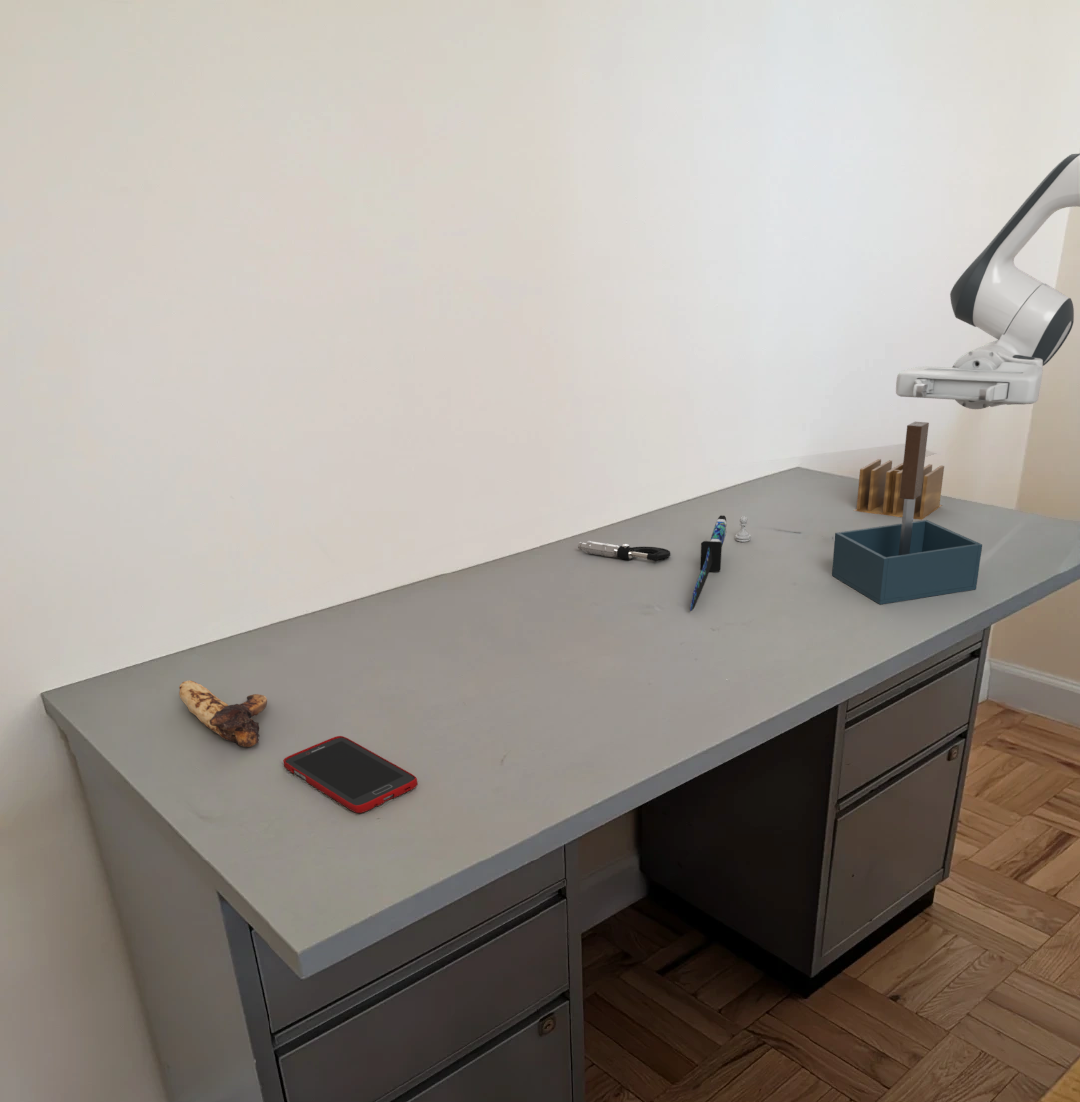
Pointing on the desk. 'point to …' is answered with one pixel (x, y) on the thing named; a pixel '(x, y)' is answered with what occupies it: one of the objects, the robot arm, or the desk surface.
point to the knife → (710, 557)
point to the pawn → (743, 531)
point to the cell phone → (350, 773)
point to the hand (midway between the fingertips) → (950, 393)
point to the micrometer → (623, 551)
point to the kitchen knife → (912, 478)
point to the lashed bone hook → (224, 713)
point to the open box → (906, 562)
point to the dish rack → (896, 490)
